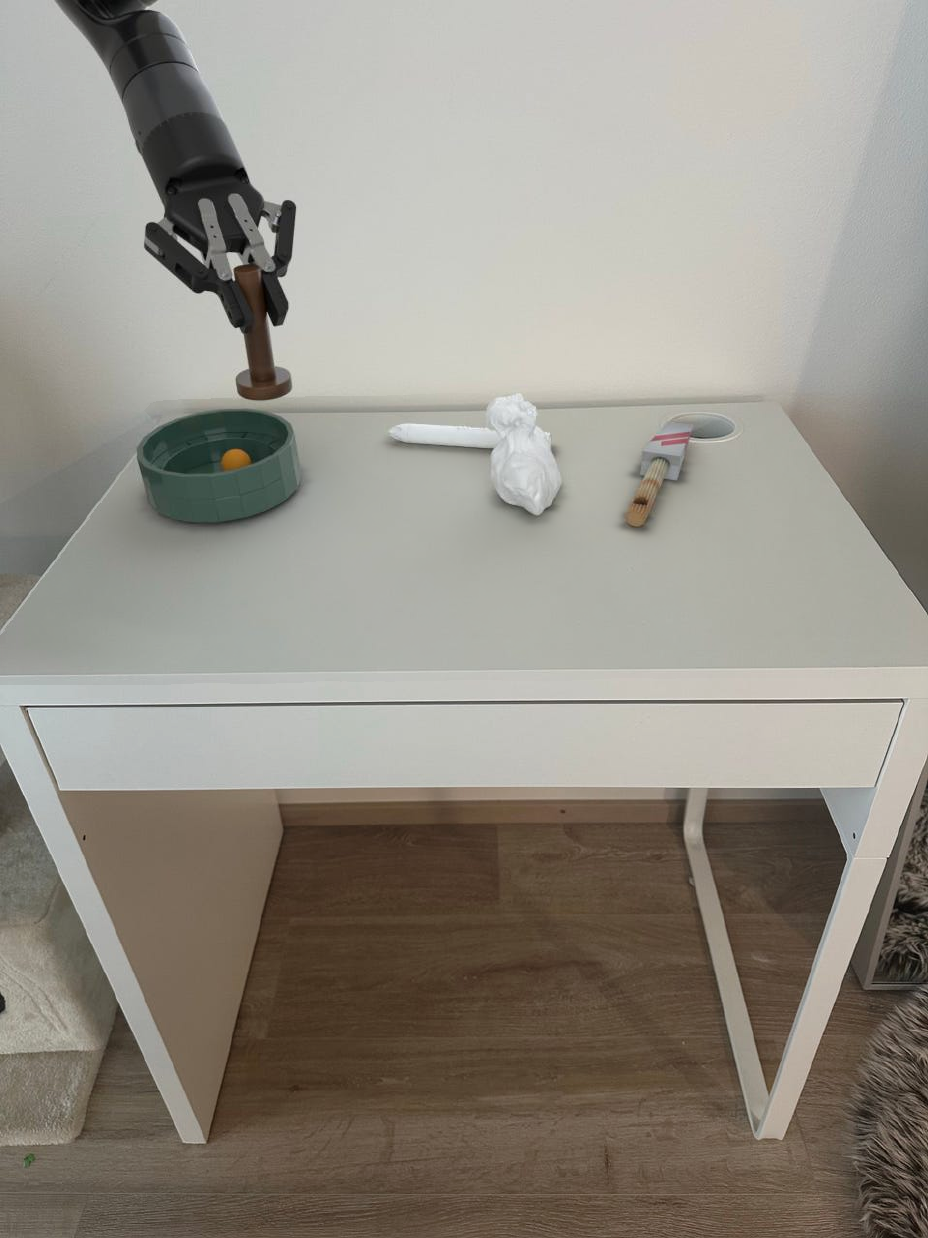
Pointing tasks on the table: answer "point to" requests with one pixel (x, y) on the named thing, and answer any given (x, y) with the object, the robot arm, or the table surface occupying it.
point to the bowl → (219, 465)
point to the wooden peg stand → (259, 344)
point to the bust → (521, 455)
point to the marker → (448, 435)
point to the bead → (235, 460)
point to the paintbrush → (659, 467)
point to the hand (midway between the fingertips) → (264, 323)
